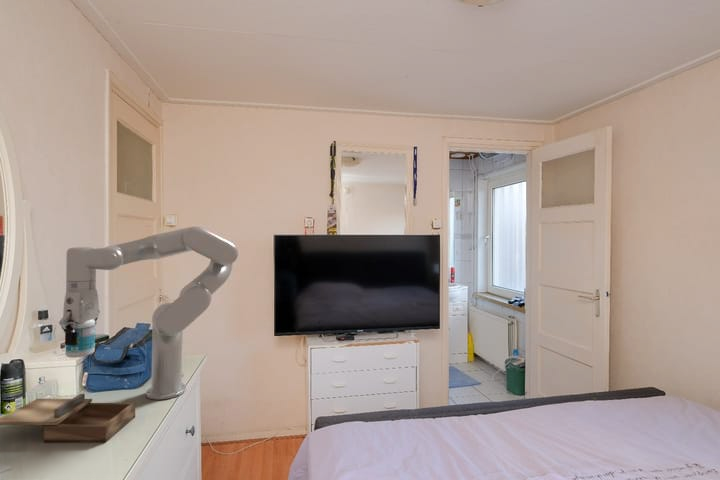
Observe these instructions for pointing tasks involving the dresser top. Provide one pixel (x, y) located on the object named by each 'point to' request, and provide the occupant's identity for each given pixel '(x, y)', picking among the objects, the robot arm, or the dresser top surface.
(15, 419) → the lid
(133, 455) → the dresser top surface
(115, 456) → the dresser top surface
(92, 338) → the pill bottle
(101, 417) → the box
